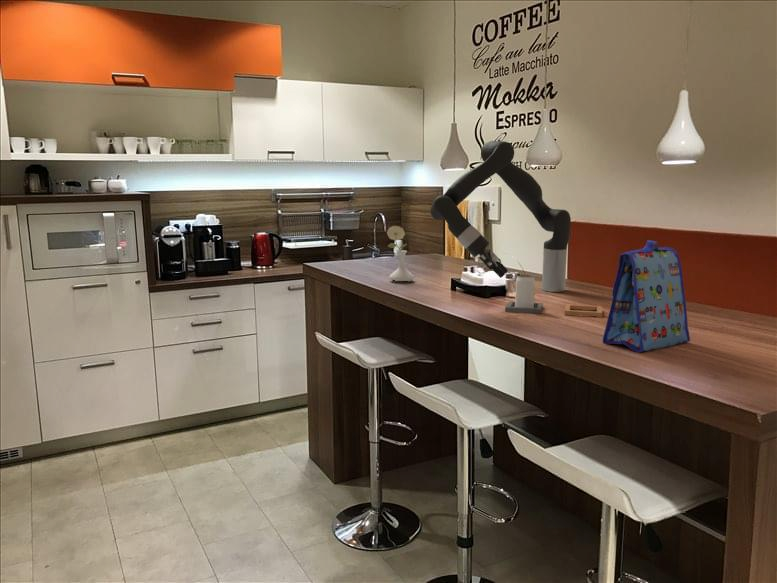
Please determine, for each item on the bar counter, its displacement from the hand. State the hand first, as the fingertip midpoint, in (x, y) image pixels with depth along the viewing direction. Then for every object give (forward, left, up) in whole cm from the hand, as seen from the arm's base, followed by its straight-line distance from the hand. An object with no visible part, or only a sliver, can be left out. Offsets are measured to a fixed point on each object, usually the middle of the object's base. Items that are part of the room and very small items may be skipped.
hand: (504, 274), depth 229 cm
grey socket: (0, +7, -12) cm, 14 cm away
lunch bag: (+39, +44, -12) cm, 60 cm away
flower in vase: (-47, -52, -12) cm, 71 cm away
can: (0, +7, -12) cm, 14 cm away
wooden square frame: (0, +27, -12) cm, 30 cm away
